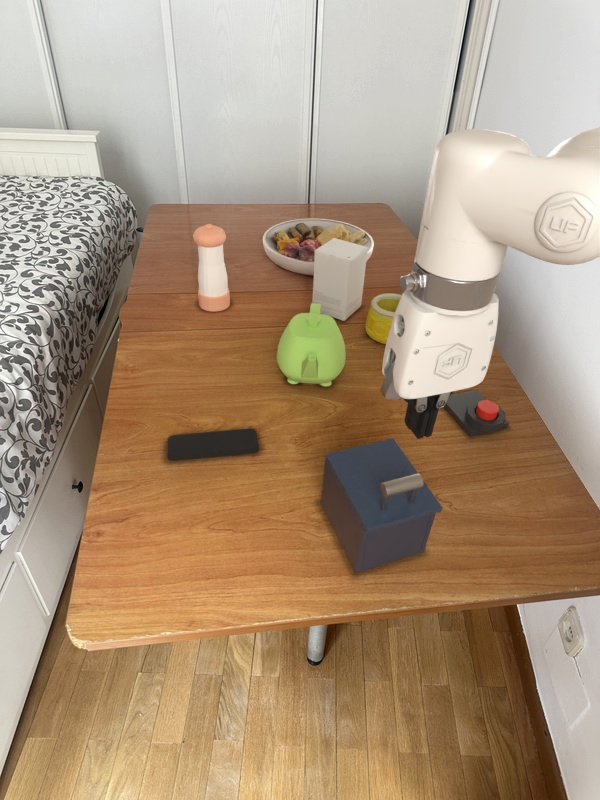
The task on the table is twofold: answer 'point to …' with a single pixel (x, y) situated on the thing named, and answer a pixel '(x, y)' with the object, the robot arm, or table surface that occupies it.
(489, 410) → the button
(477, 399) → the switch block
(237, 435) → the remote control
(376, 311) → the mug
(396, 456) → the blue drawer with handle
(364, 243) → the bowl
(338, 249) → the white product box
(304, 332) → the teapot
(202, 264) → the pepper shaker
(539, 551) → the table surface
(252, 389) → the table surface
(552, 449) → the table surface
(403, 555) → the lidded box
